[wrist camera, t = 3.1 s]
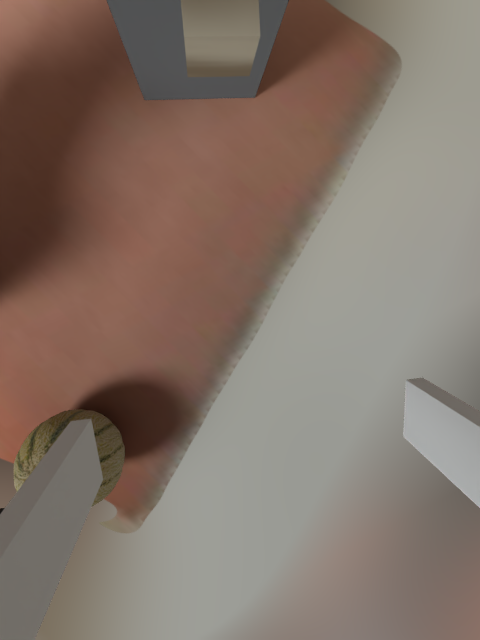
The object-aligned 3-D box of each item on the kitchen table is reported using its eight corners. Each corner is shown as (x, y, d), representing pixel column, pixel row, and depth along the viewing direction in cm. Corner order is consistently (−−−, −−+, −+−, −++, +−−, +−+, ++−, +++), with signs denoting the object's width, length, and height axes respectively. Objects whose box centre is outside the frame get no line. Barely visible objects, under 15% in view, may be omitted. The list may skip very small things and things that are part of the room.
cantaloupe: (120, 478, 58) (93, 555, 43) (35, 460, 55) (-25, 535, 41) (144, 406, 55) (123, 462, 41) (56, 383, 53) (0, 434, 38)
